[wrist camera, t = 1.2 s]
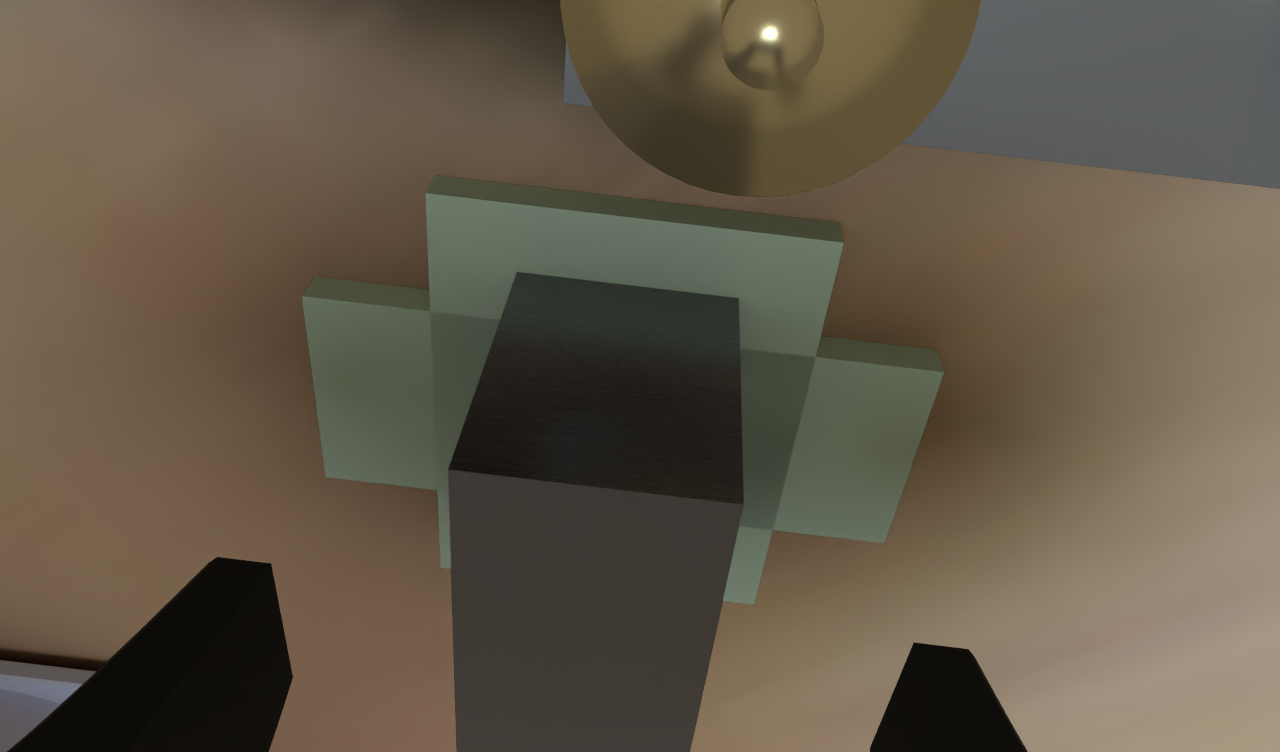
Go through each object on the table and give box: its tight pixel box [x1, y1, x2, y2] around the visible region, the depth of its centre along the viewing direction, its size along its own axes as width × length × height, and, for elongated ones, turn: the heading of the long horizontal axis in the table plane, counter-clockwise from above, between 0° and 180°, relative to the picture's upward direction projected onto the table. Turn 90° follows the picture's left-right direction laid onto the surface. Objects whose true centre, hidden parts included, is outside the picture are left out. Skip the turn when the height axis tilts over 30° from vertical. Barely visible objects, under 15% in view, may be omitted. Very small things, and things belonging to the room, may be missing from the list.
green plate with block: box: [302, 175, 944, 752], centre depth 13 cm, size 9×7×5 cm
